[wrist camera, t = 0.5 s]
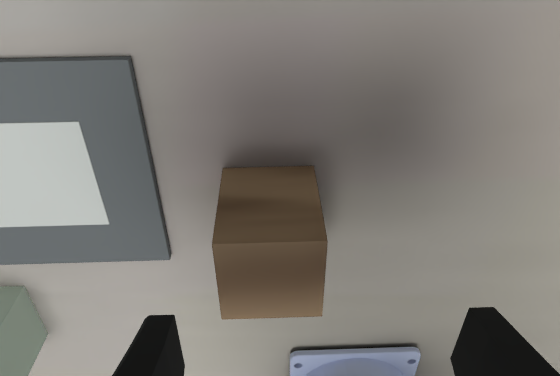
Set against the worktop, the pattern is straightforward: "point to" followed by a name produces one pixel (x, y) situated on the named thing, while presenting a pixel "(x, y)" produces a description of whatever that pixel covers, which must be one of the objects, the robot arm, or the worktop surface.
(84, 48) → the worktop surface
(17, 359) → the block sage
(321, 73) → the worktop surface
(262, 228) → the block walnut
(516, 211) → the worktop surface
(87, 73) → the pad
